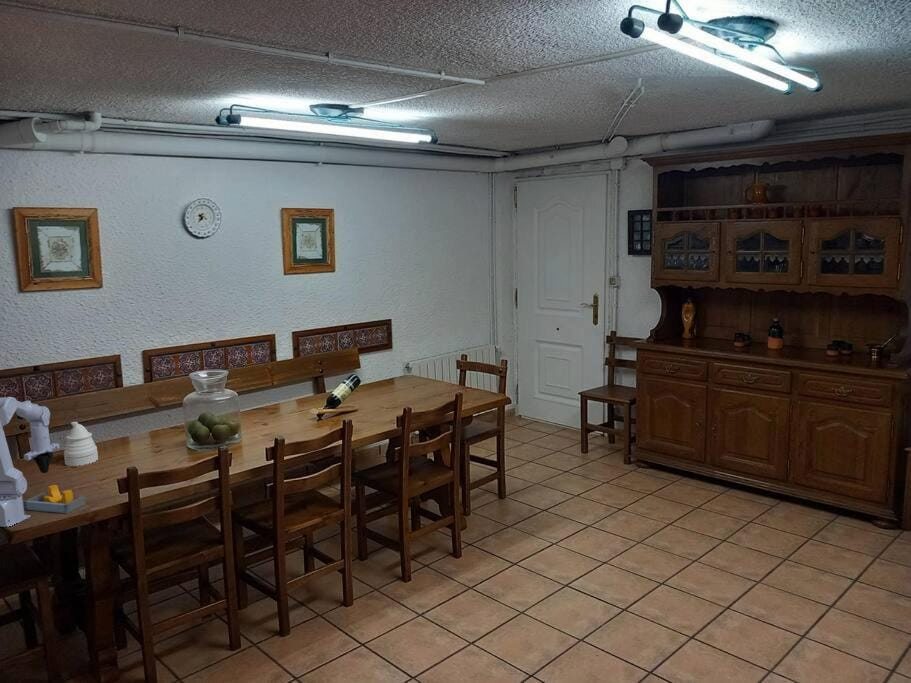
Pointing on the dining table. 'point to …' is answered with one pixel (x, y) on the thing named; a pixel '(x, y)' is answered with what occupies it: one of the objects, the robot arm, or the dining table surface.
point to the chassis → (52, 504)
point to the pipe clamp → (58, 495)
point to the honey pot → (80, 446)
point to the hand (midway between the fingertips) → (44, 472)
